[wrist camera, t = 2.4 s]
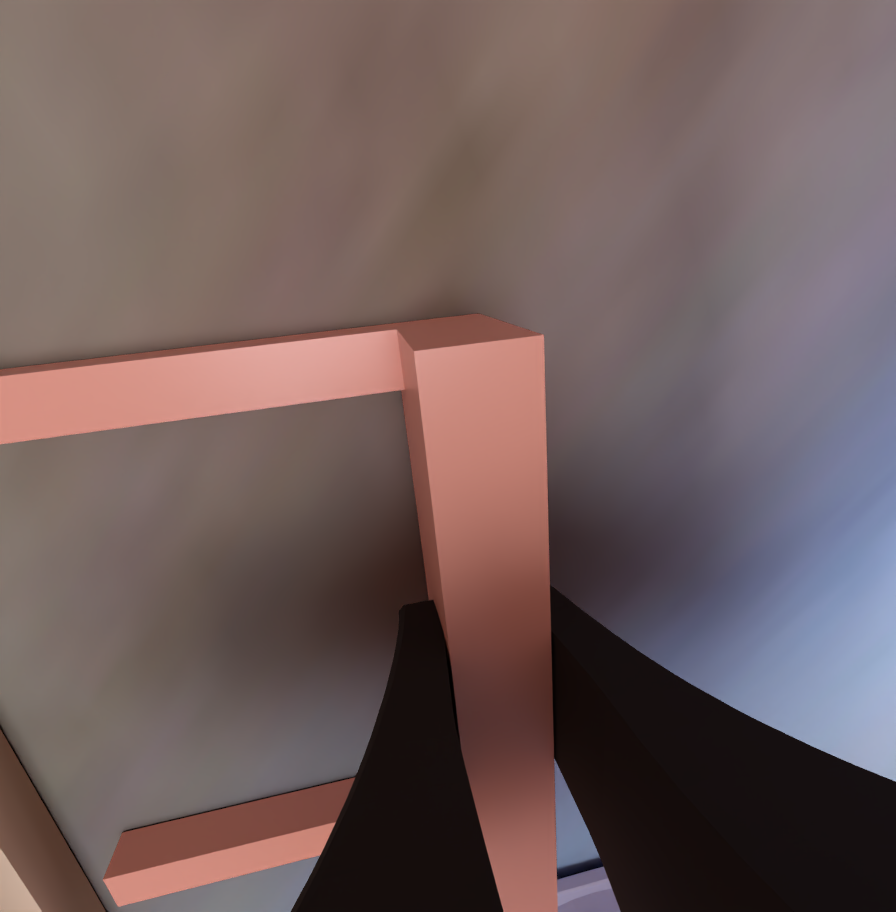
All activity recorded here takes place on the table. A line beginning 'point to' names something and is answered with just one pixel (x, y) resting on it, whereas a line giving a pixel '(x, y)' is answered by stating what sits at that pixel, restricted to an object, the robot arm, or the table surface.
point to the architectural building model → (35, 850)
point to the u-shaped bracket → (444, 553)
